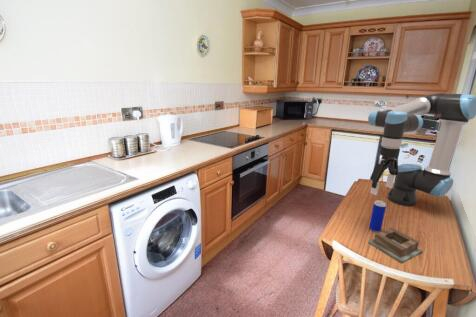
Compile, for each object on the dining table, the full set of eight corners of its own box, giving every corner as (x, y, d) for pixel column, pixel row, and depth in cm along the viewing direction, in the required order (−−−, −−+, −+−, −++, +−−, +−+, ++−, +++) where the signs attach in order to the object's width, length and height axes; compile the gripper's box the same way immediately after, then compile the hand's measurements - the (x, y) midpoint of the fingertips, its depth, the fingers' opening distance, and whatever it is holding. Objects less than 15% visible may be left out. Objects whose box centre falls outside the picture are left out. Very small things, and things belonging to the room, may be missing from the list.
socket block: (388, 234, 120) (390, 225, 119) (422, 252, 107) (425, 242, 106) (368, 242, 114) (370, 233, 112) (401, 263, 101) (404, 253, 99)
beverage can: (376, 226, 126) (382, 199, 122) (382, 232, 121) (388, 205, 117) (367, 226, 126) (372, 199, 121) (372, 232, 121) (378, 205, 116)
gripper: (395, 141, 119) (387, 182, 126) (366, 148, 106) (358, 193, 113) (412, 144, 113) (402, 187, 120) (384, 153, 100) (374, 200, 107)
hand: (381, 190), depth 116 cm, fingers open, 13 cm apart
